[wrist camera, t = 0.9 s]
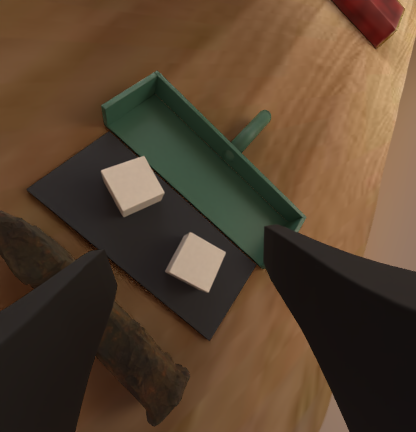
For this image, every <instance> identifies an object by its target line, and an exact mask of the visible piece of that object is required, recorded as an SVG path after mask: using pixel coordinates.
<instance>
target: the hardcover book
mask: <svg viewBox="0 0 416 432" xmlns="http://www.w3.org/2000/svg"><path fill="white" fill-rule="evenodd" d="M332 1H333V2H334V3H335V4H336V5H337V7H338V8H339V9H340V10H341V11H342V12H343V13H344V14H345V15H346V16H347V17H348V18H349V19H350V21H351V22H352V23H353V24H354V25H355V26H356V27H357V28H358V29H359V30H360V31H361V32H362V33H363V35H364V36H365V37H366V38H367V39H368V40H369V41H370V42H371V43H372V44H373V45H374V46H375V47H376V48H378V47H379V46H381V45H382V44H383V43H384V42H385V41H386V40H387V39H389V38H390V37H391V36H392V35H393V34H394V33H395V32H396V31H397V29H398V27H399V24H400V21H401V19H402V16H403V14H404V11H405V8H404V7H403V6H402V5H401V4H400V3H399V1H398V0H332Z"/></svg>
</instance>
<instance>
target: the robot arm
mask: <svg viewBox="0 0 416 432" xmlns="http://www.w3.org/2000/svg"><path fill="white" fill-rule="evenodd" d="M263 263H264V265H265V268H266V270H267V272H268V274H269V276H270V279H271V281H272V282H273V284H274V286H275V287H276V289H277V291H278V292H279V294H280V296H281V297H282V299H283V300H284V302H285V304H286V305H287V307H288V308H289V310H290V312H291V313H292V315H293V316H294V318H295V320H296V321H297V323H298V324H299V326H300V328H301V330H302V331H303V333H304V335H305V337H306V339H307V341H308V343H309V345H310V347H311V349H312V351H313V353H314V355H315V357H316V359H317V361H318V363H319V365H320V368H321V370H322V372H323V374H324V376H325V378H326V380H327V382H328V385H329V387H330V389H331V391H332V393H333V396H334V398H335V400H336V402H337V405H338V407H339V409H340V411H341V413H342V416H343V418H344V420H345V422H346V425H347V427H348V429H349V432H416V272H415V271H411V270H407V269H402V268H398V267H394V266H390V265H387V264H383V263H379V262H376V261H372V260H369V259H366V258H363V257H360V256H356V255H353V254H350V253H347V252H345V251H342V250H339V249H337V248H334V247H331V246H329V245H326V244H324V243H321V242H319V241H316V240H314V239H312V238H309V237H307V236H305V235H302V234H300V233H298V232H295V231H293V230H291V229H288V228H286V227H283V226H281V225H277V224H276V225H269V226H264V252H263ZM116 289H117V283H116V280H115V277H114V275H113V272H112V269H111V266H110V263H109V260H108V257H107V255H106V252H105V249H101V250H94V251H89V252H88V253H86V254H84V255H83V256H81V257H80V258H78V259H77V260H75V261H74V262H72V263H71V264H70V265H68V266H67V267H65V268H64V269H63V270H61V271H60V272H58V273H57V274H56V275H54V276H53V277H51V278H50V279H49V280H47V281H46V282H44V283H43V284H41V285H40V286H38V287H37V288H35V289H34V290H33V291H31V292H30V293H28V294H27V295H25V296H24V297H22V298H21V299H19V300H18V301H16V302H15V303H13V304H12V305H10V306H8V307H7V308H5V309H4V310H2V311H0V432H75V430H76V426H77V422H78V418H79V413H80V409H81V405H82V401H83V397H84V393H85V389H86V385H87V382H88V378H89V374H90V371H91V368H92V365H93V361H94V359H95V356H96V353H97V350H98V348H99V345H100V342H101V339H102V336H103V334H104V331H105V328H106V325H107V322H108V320H109V317H110V314H111V311H112V308H113V304H114V299H115V295H116Z"/></svg>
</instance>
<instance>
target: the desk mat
mask: <svg viewBox="0 0 416 432" xmlns="http://www.w3.org/2000/svg"><path fill="white" fill-rule="evenodd" d="M136 158H138V157H137V156H136V155H135V154H134V153H133V152H131V151H130V150H129V149H128V148H127V147H126V146H125V145H124V144H123V143H122V142H120V141H119V140H118V139H117V138H116V137H115V136H114V135H113V134H112V133H111V132H107V133H106V134H104V135H103V136H102V137H100V138H99V139H97V140H96V141H95V142H93V143H92V144H90V145H89V146H87V147H86V148H85V149H83V150H82V151H80V152H79V153H77V154H76V155H75V156H73V157H72V158H70V159H69V160H67V161H66V162H65V163H63V164H62V165H60V166H59V167H57V168H56V169H55V170H53V171H52V172H50V173H49V174H47V175H46V176H45V177H43V178H42V179H40V180H39V181H37V182H36V183H35V184H33V185H32V186H30V187H29V188H27V189H26V190H27V191H28V192H30V193H31V194H32V195H33V196H35V197H36V198H37V199H38V200H39V201H41V202H42V203H43V204H44V205H45V206H47V207H48V208H49V209H50V210H51V211H53V212H54V213H55V214H56V215H58V216H59V217H60V218H61V219H62V220H64V221H65V222H66V223H67V224H68V225H70V226H71V227H72V228H73V229H74V230H76V231H77V232H78V233H79V234H81V235H82V236H83V237H84V238H85V239H87V240H88V241H89V242H90V243H91V244H93V245H94V246H95V247H96V248H98V249H99V250H101V249H105V252H106V255H107V257H108V258H110V259H111V260H112V261H113V262H114V263H116V264H117V265H118V266H119V267H121V268H122V269H123V270H124V271H125V272H127V273H128V274H129V275H130V276H131V277H133V278H134V279H135V280H136V281H137V282H139V283H140V284H141V285H142V286H144V287H145V288H146V289H147V290H148V291H150V292H151V293H152V294H153V295H154V296H156V297H157V298H158V299H159V300H160V301H162V302H163V303H164V304H165V305H167V306H168V307H169V308H170V309H171V310H173V311H174V312H175V313H176V314H177V315H179V316H180V317H181V318H182V319H183V320H185V321H186V322H187V323H188V324H190V325H191V326H192V327H193V328H194V329H196V330H197V331H198V332H199V333H200V334H202V335H203V336H204V337H205V338H207V339H208V340H209V341H210V339H211V338H212V336H213V335H214V333H215V331H216V330H217V328H218V326H219V325H220V323H221V322H222V320H223V318H224V317H225V315H226V314H227V312H228V310H229V309H230V307H231V305H232V304H233V302H234V301H235V299H236V297H237V296H238V294H239V292H240V291H241V289H242V288H243V286H244V284H245V283H246V281H247V279H248V278H249V276H250V275H251V273H252V271H253V270H254V268H255V266H256V264H254V263H253V262H252V261H251V260H250V259H249V258H248V257H247V256H246V255H245V254H243V253H242V252H241V251H240V250H239V249H238V248H237V247H236V246H235V245H234V244H232V243H231V242H230V241H229V240H228V239H227V238H226V237H225V236H224V235H223V234H221V233H220V232H219V231H218V230H217V229H216V228H215V227H214V226H213V225H212V224H211V223H209V222H208V221H207V220H206V219H205V218H204V217H203V216H202V215H201V214H200V213H198V212H197V211H196V210H195V209H194V208H193V207H192V206H191V205H190V204H189V203H187V202H186V201H185V200H184V199H183V198H182V197H181V196H180V195H179V194H178V193H176V192H175V191H174V190H173V189H172V188H171V187H170V186H169V185H168V184H167V183H165V182H164V181H163V180H162V179H161V178H160V177H159V176H158V175H157V174H156V173H155V172H153V173H154V174H155V176H156V178H157V180H158V182H159V183H160V185H161V187H162V189H163V191H164V195H163V197H162V200H161V201H159V202H157V203H155V204H152V205H150V206H148V207H146V208H144V209H141V210H139V211H137V212H135V213H132V214H130V215H128V216H126V217H123V216H122V214H121V212H120V210H119V209H118V207H117V205H116V203H115V201H114V199H113V198H112V196H111V194H110V192H109V190H108V188H107V187H106V185H105V183H104V181H103V177H102V174H101V170H103V169H106V168H109V167H112V166H115V165H118V164H121V163H124V162H127V161H130V160H133V159H136ZM189 232H191V233H193V234H195V235H197V236H198V237H200V238H202V239H204V240H205V241H207V242H209V243H210V244H212V245H214V246H216V247H217V248H219V249H221V250H223V251H224V252H226V254H225V256H224V258H223V261H222V263H221V265H220V267H219V270H218V272H217V274H216V277H215V279H214V281H213V284H212V286H211V288H210V291H209V292H208V293H207V292H204V291H201V290H198V289H197V288H195V287H193V286H191V285H189V284H187V283H185V282H183V281H181V280H179V279H177V278H175V277H174V276H172V275H170V274H168V273H166V272H165V270H166V268H167V266H168V265H169V263H170V261H171V259H172V257H173V255H174V253H175V252H176V250H177V248H178V246H179V244H180V242H181V240H182V238H183V237H184V235H186V234H188V233H189Z"/></svg>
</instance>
